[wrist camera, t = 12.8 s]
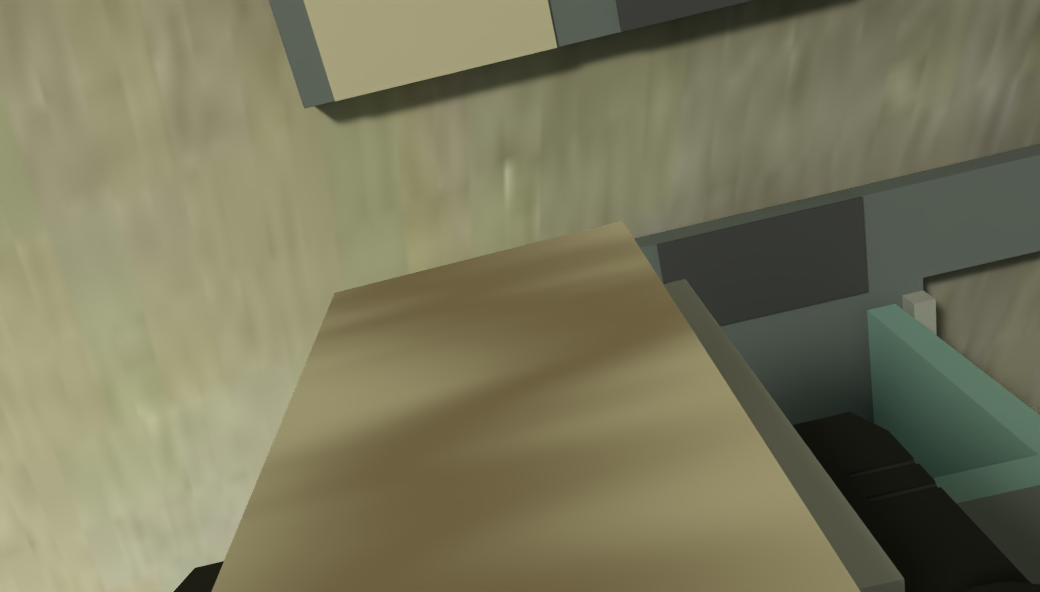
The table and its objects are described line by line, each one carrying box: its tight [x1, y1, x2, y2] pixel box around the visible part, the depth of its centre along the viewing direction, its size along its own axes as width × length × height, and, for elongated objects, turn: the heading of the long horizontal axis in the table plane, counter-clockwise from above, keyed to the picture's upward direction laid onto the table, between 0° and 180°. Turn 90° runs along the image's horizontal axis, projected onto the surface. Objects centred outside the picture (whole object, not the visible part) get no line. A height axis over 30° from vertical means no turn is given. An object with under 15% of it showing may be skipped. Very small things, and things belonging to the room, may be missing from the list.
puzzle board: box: [269, 0, 1040, 425], centre depth 28 cm, size 27×26×2 cm
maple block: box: [212, 221, 861, 592], centre depth 9 cm, size 4×4×8 cm
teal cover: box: [867, 304, 1040, 584], centre depth 24 cm, size 8×10×13 cm
